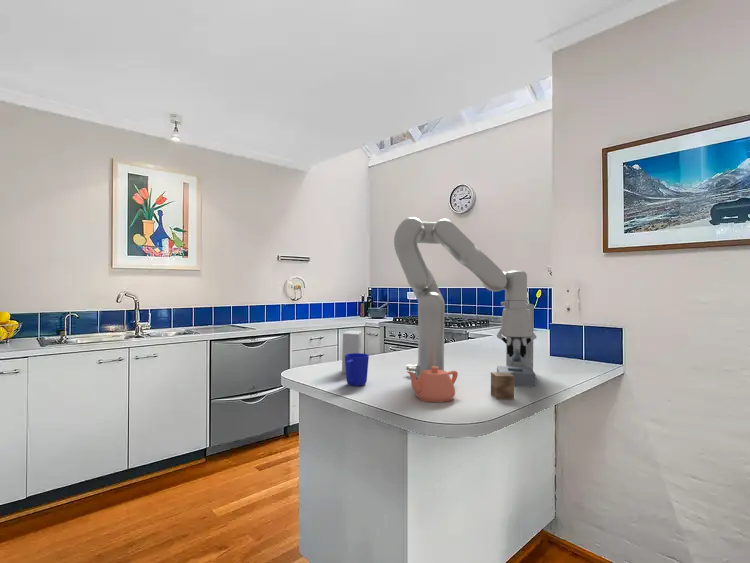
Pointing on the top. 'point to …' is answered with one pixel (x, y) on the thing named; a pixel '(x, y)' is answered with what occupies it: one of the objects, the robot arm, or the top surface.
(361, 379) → the mug
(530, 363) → the vase
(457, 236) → the robot arm
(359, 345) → the skincare box
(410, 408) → the top surface
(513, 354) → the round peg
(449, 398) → the teapot
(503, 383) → the square peg
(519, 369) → the socket block
